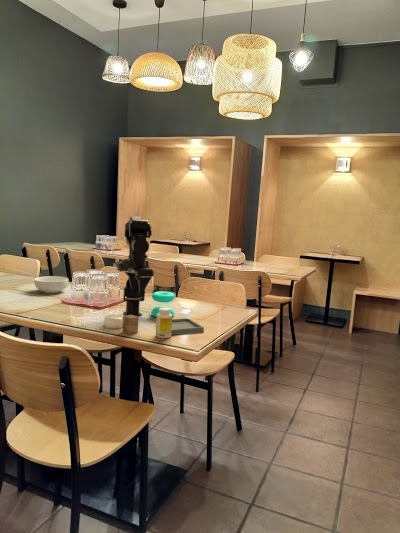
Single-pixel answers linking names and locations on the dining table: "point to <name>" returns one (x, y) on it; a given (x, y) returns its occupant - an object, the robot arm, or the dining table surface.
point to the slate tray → (185, 326)
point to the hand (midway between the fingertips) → (136, 292)
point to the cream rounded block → (113, 321)
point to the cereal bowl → (51, 283)
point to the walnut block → (130, 324)
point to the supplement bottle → (164, 323)
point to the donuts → (163, 298)
